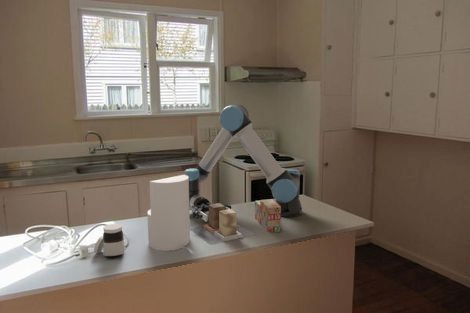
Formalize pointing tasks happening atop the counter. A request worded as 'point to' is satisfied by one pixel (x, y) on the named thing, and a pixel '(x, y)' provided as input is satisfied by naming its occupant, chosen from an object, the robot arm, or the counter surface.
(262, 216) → the stack of blocks
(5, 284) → the counter surface
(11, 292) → the counter surface
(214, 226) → the walnut pillar
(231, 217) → the oak pillar
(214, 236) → the board
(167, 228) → the cylinder
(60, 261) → the counter surface
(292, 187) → the robot arm
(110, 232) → the spread jar
